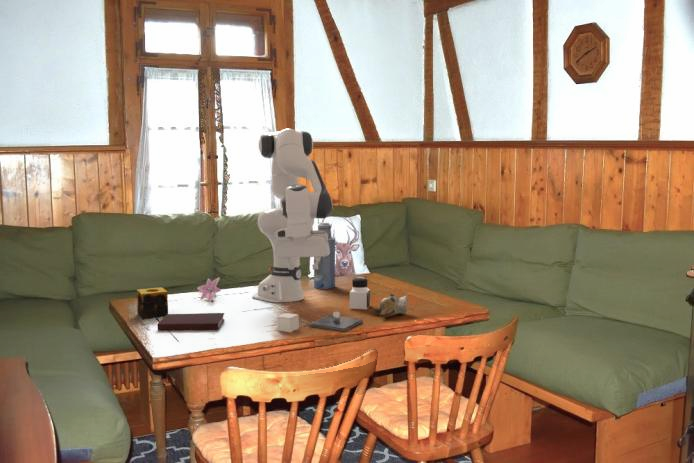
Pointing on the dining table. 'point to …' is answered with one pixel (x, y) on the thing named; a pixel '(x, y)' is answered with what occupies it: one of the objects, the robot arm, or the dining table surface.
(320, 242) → the robot arm
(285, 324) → the cream rectangular prism
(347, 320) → the post plate
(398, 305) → the ceramic sculpture
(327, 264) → the grey elongated piece
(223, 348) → the dining table surface
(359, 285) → the medicine bottle
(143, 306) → the yellow holed cube
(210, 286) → the lily
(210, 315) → the book
